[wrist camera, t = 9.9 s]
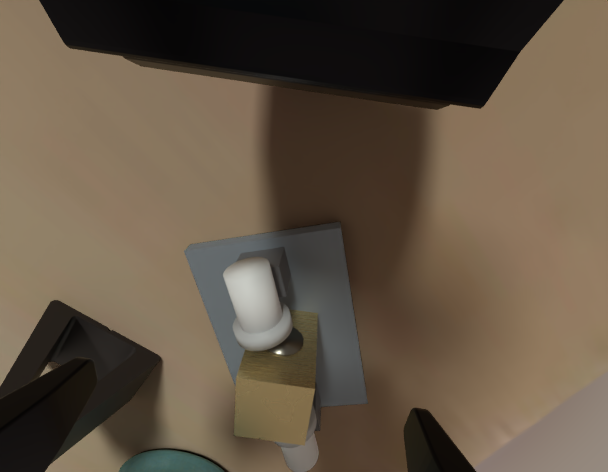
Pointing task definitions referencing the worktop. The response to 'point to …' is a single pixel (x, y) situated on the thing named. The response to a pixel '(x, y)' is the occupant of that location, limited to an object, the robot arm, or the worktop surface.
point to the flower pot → (168, 462)
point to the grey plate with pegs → (285, 310)
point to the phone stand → (89, 344)
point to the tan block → (279, 386)
